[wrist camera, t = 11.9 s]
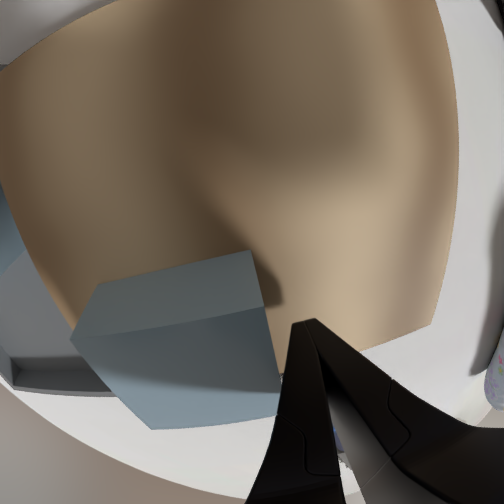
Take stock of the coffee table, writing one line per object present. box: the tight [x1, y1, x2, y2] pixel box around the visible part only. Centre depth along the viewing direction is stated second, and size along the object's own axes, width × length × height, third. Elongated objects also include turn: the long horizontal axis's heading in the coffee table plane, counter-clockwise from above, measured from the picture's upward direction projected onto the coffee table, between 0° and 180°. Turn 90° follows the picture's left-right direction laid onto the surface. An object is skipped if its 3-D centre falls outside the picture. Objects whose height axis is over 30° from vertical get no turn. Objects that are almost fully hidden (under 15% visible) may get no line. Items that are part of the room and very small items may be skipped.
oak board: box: [0, 0, 459, 374], centre depth 8 cm, size 15×14×2 cm
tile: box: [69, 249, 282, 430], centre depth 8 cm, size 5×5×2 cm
